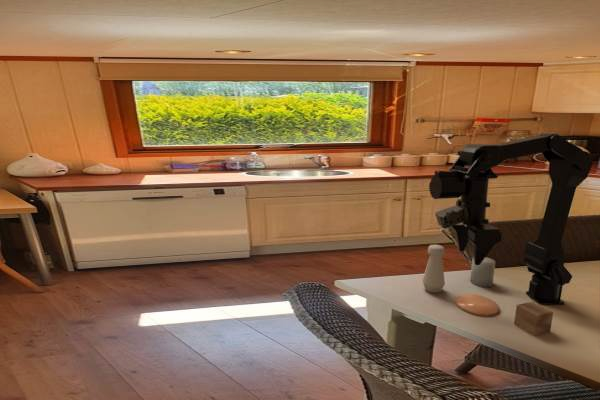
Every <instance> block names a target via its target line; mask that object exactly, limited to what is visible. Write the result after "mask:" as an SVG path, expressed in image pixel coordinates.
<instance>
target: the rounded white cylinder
mask: <svg viewBox="0 0 600 400" xmlns="http://www.w3.org/2000/svg"><path fill="white" fill-rule="evenodd" d="M471 259H472V260H471V269H470V277H469V282H470V283H471V284H472V285H474V286H477V287H480V288H491V287H493V286H494V285H493V284H494V277H495V268H496V261H495V260H494V259H493V258H489V257H485V258H484V260H483V261H482V262H481V264H480V265H475V263H474V256H473V257H472V258H471Z"/></svg>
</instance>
